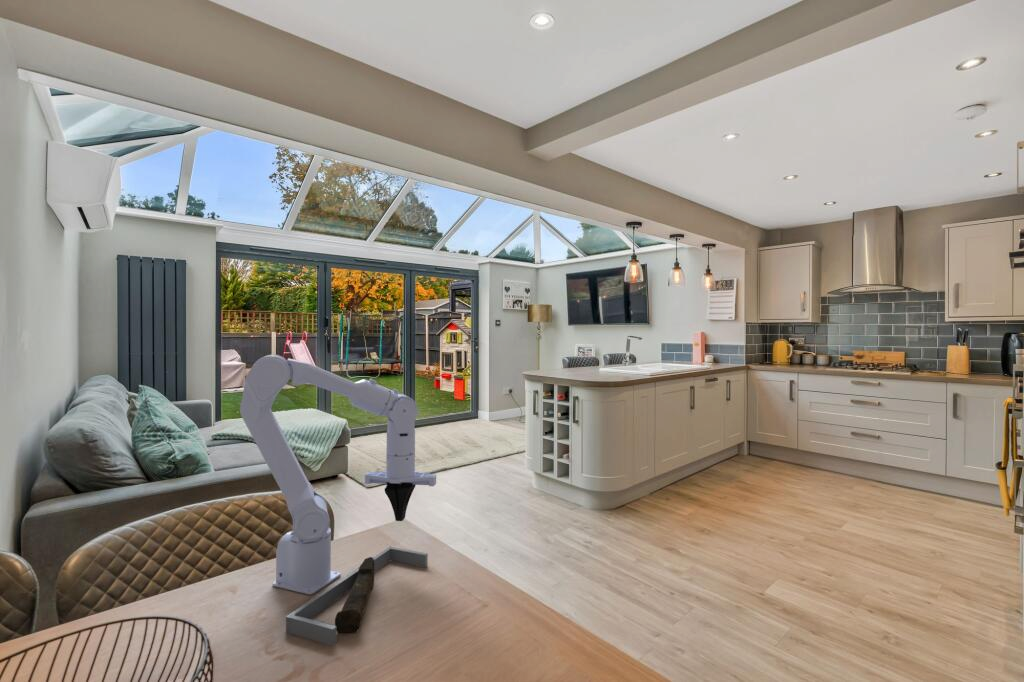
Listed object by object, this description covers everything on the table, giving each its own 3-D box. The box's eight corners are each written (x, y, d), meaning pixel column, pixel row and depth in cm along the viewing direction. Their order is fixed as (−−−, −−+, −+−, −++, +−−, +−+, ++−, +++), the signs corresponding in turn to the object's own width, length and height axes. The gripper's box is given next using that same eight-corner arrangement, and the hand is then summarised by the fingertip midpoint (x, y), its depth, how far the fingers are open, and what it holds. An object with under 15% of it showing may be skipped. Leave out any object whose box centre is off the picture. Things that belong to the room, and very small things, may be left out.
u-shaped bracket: (285, 632, 75) (285, 616, 75) (389, 558, 100) (389, 546, 100) (332, 646, 71) (332, 629, 71) (427, 565, 97) (427, 553, 97)
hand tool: (360, 635, 74) (360, 606, 74) (333, 636, 74) (334, 606, 74) (385, 576, 93) (386, 552, 93) (364, 576, 93) (365, 553, 93)
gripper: (358, 456, 94) (358, 525, 94) (430, 458, 93) (429, 528, 93) (372, 448, 101) (372, 512, 101) (439, 450, 100) (438, 515, 100)
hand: (400, 519), depth 97 cm, fingers closed
